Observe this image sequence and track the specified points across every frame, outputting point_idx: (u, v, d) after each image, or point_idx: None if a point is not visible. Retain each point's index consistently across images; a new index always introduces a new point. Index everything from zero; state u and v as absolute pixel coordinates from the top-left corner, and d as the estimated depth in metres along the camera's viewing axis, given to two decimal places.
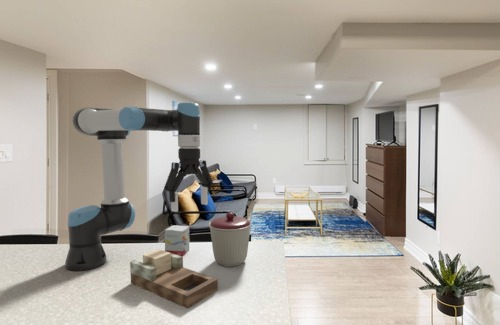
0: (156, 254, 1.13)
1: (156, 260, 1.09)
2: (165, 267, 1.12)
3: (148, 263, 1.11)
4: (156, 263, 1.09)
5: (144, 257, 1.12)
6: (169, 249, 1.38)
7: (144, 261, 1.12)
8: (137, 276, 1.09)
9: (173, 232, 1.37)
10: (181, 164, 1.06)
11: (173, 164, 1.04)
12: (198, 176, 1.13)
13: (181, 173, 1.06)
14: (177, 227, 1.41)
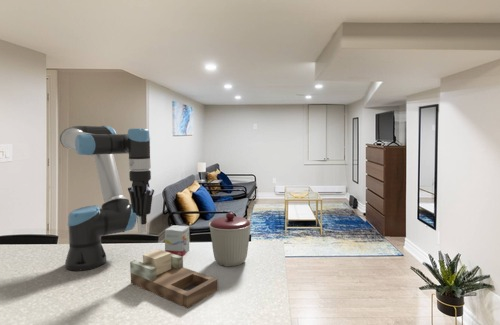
0: (156, 254, 1.13)
1: (156, 260, 1.09)
2: (165, 267, 1.12)
3: (148, 263, 1.11)
4: (156, 263, 1.09)
5: (144, 257, 1.12)
6: (169, 249, 1.38)
7: (144, 261, 1.12)
8: (137, 276, 1.09)
9: (173, 232, 1.37)
10: None
11: None
12: None
13: None
14: (177, 227, 1.41)
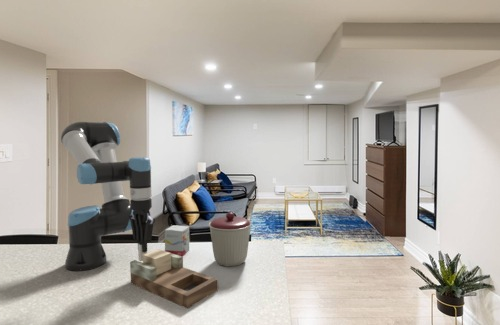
0: (156, 254, 1.13)
1: (156, 260, 1.09)
2: (165, 267, 1.12)
3: (148, 263, 1.11)
4: (156, 263, 1.09)
5: (144, 257, 1.12)
6: (169, 249, 1.38)
7: (144, 261, 1.12)
8: (137, 276, 1.09)
9: (173, 232, 1.37)
10: None
11: None
12: None
13: None
14: (177, 227, 1.41)
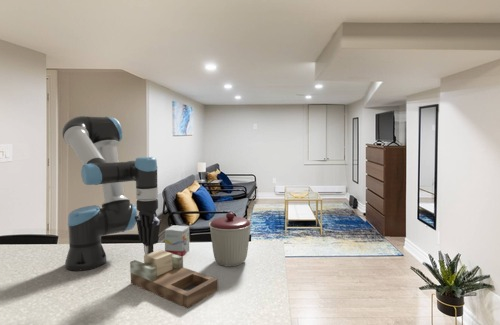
0: (158, 255, 1.12)
1: (157, 260, 1.09)
2: (166, 267, 1.12)
3: (149, 264, 1.11)
4: (157, 264, 1.09)
5: (145, 257, 1.12)
6: (169, 249, 1.38)
7: (145, 261, 1.12)
8: (137, 276, 1.09)
9: (173, 232, 1.37)
10: None
11: None
12: None
13: None
14: (177, 227, 1.41)
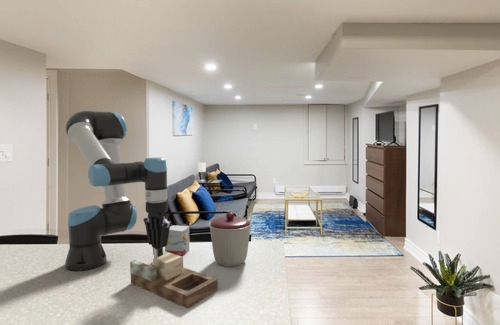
0: (167, 258, 1.09)
1: (167, 264, 1.06)
2: (176, 271, 1.09)
3: (158, 267, 1.08)
4: (167, 267, 1.06)
5: (155, 261, 1.09)
6: (169, 249, 1.38)
7: (154, 265, 1.09)
8: (137, 276, 1.09)
9: (173, 232, 1.37)
10: None
11: None
12: None
13: None
14: (177, 227, 1.41)
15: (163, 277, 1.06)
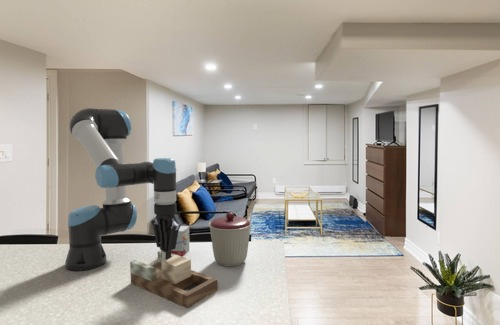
0: (176, 261, 1.07)
1: (176, 267, 1.03)
2: (185, 274, 1.06)
3: (167, 270, 1.05)
4: (176, 270, 1.03)
5: (163, 264, 1.06)
6: None
7: (162, 268, 1.06)
8: (137, 276, 1.09)
9: None
10: None
11: None
12: None
13: None
14: None
15: (172, 280, 1.04)
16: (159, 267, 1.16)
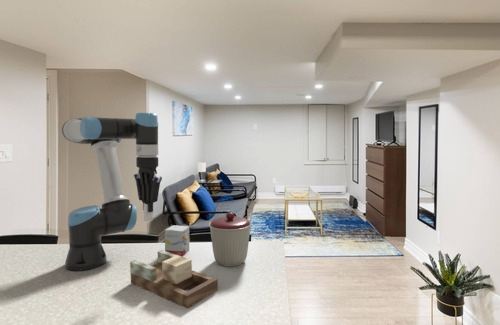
0: (177, 261, 1.06)
1: (177, 267, 1.03)
2: (185, 275, 1.06)
3: (168, 271, 1.05)
4: (177, 271, 1.03)
5: (164, 264, 1.06)
6: (169, 249, 1.38)
7: (163, 268, 1.06)
8: (137, 276, 1.09)
9: (173, 232, 1.37)
10: None
11: None
12: None
13: None
14: (177, 227, 1.41)
15: (172, 281, 1.04)
16: (159, 267, 1.16)
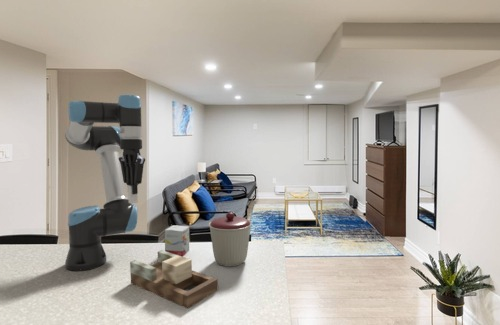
0: (177, 261, 1.06)
1: (177, 267, 1.03)
2: (185, 275, 1.06)
3: (168, 271, 1.05)
4: (177, 271, 1.03)
5: (164, 264, 1.06)
6: (169, 249, 1.38)
7: (163, 268, 1.06)
8: (137, 276, 1.09)
9: (173, 232, 1.37)
10: None
11: None
12: None
13: None
14: (177, 227, 1.41)
15: (172, 281, 1.04)
16: (159, 267, 1.16)
